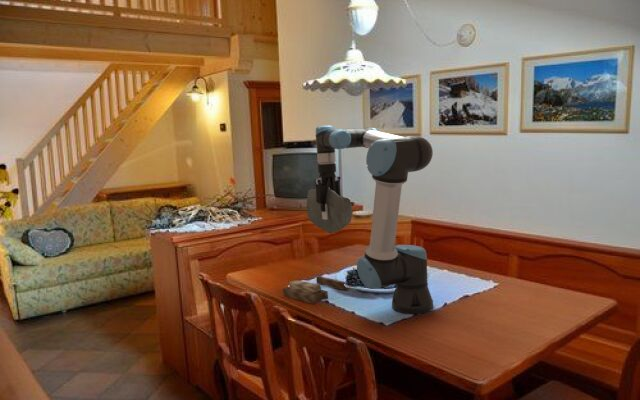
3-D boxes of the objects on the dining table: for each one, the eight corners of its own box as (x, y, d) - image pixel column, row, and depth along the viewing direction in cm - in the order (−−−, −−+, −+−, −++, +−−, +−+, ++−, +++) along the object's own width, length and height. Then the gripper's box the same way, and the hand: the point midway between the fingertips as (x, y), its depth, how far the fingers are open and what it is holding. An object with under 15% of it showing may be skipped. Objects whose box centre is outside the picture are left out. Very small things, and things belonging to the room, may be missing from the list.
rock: (358, 235, 198) (355, 187, 195) (348, 238, 194) (344, 189, 191) (315, 229, 218) (312, 185, 215) (305, 231, 214) (301, 187, 211)
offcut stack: (321, 298, 197) (320, 284, 196) (315, 301, 194) (314, 287, 193) (295, 293, 206) (294, 279, 205) (289, 296, 203) (288, 282, 202)
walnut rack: (349, 289, 206) (348, 282, 205) (313, 304, 191) (312, 296, 190) (319, 282, 218) (318, 276, 218) (283, 295, 203) (282, 288, 203)
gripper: (334, 161, 211) (338, 214, 214) (304, 165, 198) (308, 220, 201) (347, 161, 206) (350, 215, 209) (317, 165, 193) (321, 222, 196)
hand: (330, 217), depth 205 cm, fingers closed on rock, 5 cm apart
